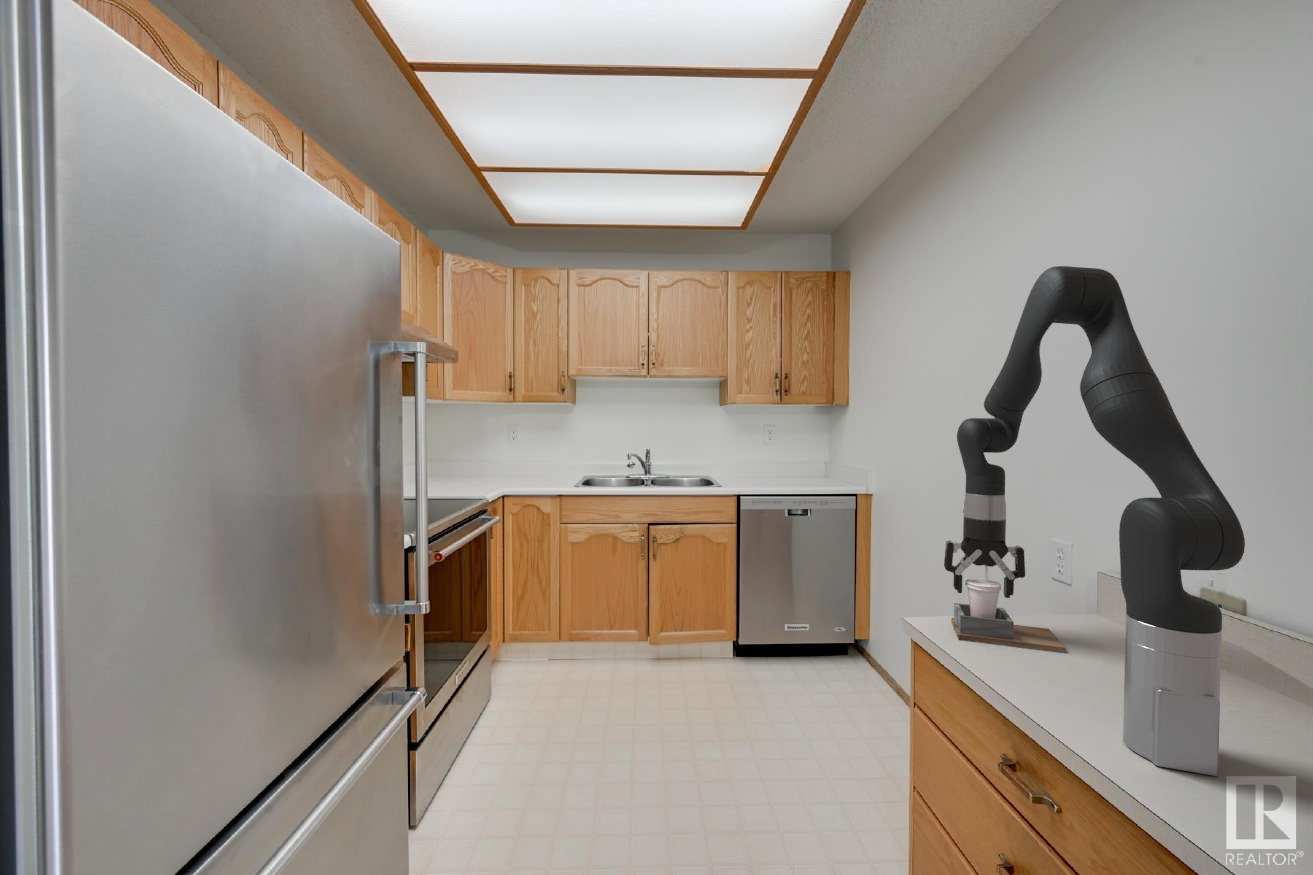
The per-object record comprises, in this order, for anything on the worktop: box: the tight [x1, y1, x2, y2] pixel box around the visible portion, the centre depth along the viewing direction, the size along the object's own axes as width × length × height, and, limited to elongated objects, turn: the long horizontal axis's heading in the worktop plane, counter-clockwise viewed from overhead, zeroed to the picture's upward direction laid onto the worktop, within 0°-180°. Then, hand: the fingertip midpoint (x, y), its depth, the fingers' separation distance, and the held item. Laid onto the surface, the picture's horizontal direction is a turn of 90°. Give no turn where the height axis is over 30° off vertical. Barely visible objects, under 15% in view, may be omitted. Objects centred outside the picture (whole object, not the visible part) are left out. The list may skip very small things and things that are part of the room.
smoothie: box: [964, 565, 1002, 619], centre depth 117 cm, size 6×6×14 cm
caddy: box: [950, 602, 1067, 654], centre depth 116 cm, size 11×18×4 cm, turn 69°
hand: (982, 594), depth 117 cm, fingers open, 8 cm apart
